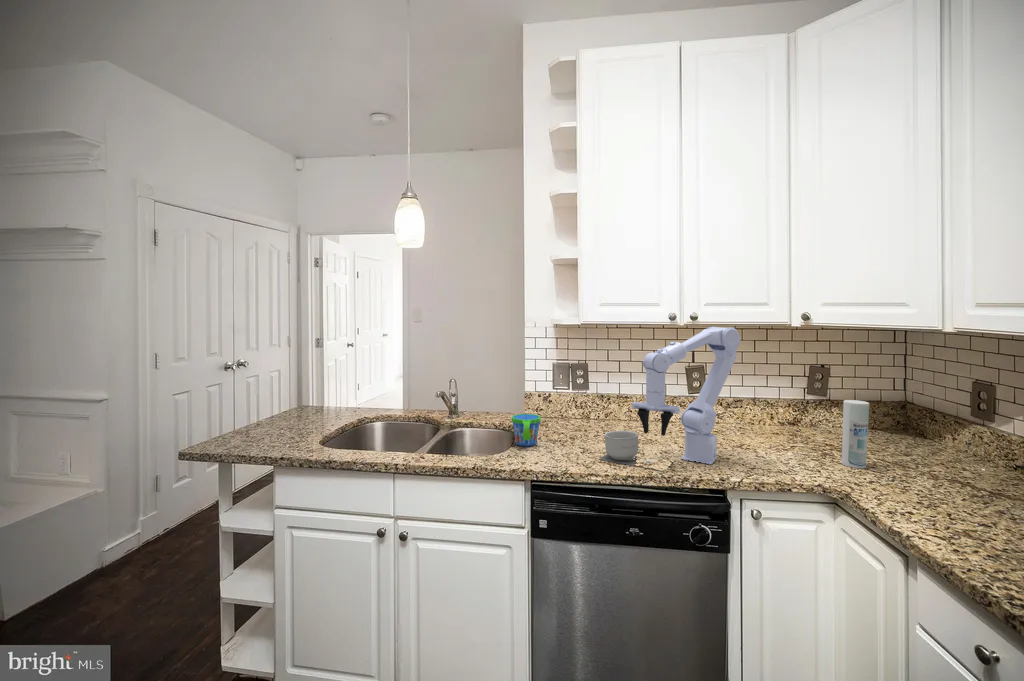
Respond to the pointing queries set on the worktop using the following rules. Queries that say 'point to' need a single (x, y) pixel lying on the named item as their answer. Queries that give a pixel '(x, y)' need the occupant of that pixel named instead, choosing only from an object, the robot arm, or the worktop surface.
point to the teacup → (621, 444)
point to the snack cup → (526, 429)
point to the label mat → (627, 462)
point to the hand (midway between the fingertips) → (654, 433)
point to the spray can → (855, 433)
